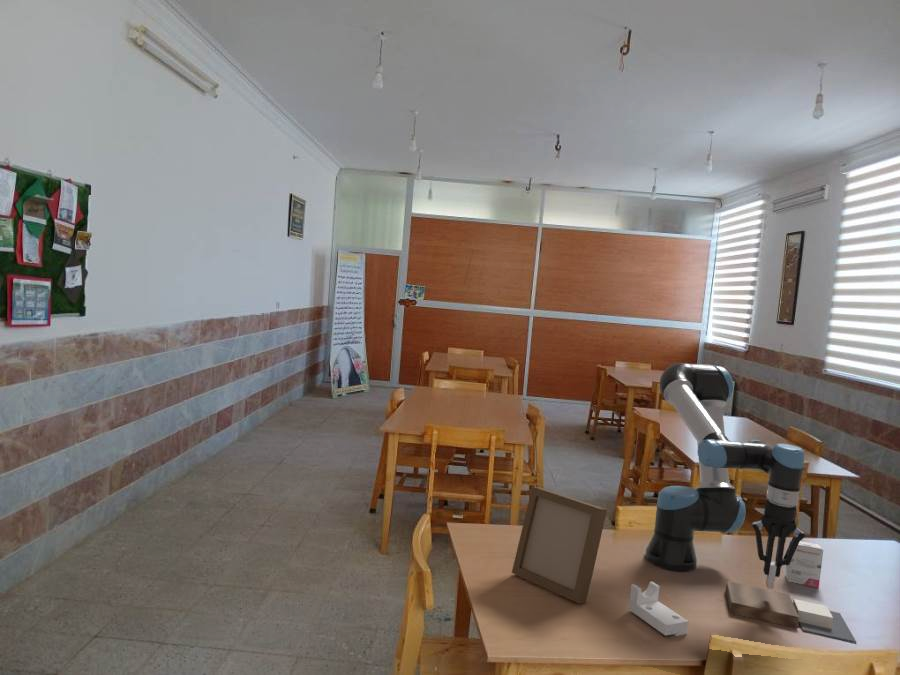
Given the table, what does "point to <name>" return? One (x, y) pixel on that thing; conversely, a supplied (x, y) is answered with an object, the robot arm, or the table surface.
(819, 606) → the cream rectangular block
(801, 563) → the ink box
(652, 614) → the bracket
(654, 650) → the table surface
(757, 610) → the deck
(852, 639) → the mat
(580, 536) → the photo frame
